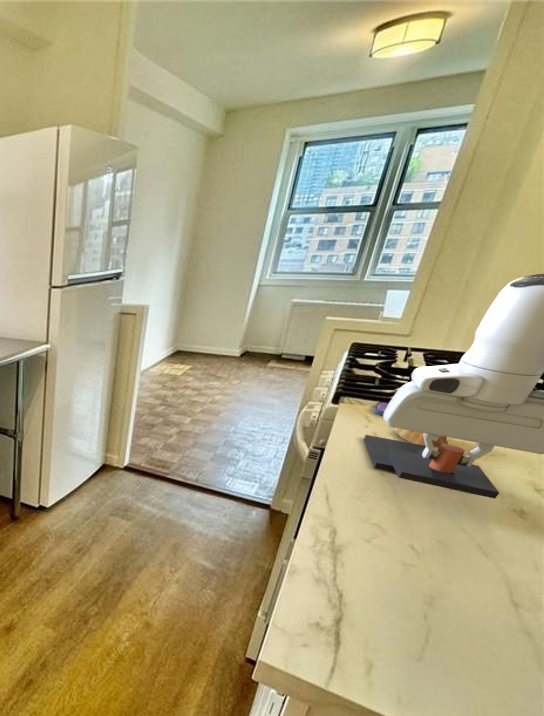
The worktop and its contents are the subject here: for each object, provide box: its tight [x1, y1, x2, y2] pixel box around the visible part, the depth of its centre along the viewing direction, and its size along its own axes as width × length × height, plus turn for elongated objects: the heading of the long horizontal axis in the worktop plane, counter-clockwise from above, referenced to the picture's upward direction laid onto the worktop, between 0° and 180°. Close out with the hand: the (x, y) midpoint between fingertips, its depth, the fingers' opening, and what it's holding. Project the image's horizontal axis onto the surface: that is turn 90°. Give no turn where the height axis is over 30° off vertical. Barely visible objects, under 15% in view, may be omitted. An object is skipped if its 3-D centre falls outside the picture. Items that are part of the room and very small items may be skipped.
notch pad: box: [363, 434, 439, 474], centre depth 93 cm, size 14×14×1 cm
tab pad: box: [388, 443, 500, 500], centre depth 82 cm, size 12×12×5 cm
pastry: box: [393, 427, 449, 448], centre depth 100 cm, size 9×7×4 cm
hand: (444, 461), depth 81 cm, fingers closed on tab pad, 3 cm apart
